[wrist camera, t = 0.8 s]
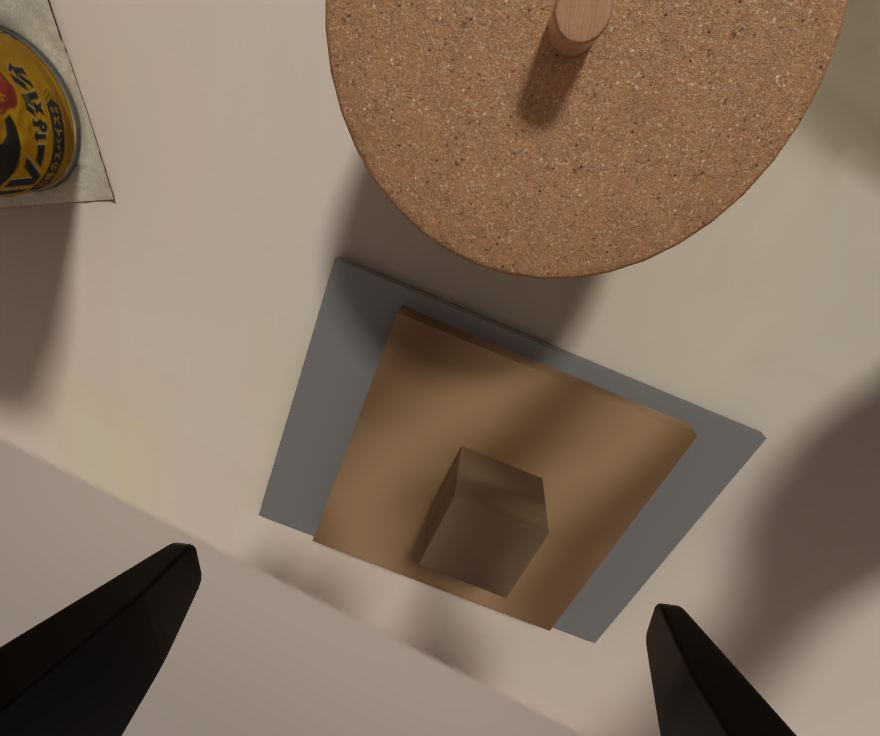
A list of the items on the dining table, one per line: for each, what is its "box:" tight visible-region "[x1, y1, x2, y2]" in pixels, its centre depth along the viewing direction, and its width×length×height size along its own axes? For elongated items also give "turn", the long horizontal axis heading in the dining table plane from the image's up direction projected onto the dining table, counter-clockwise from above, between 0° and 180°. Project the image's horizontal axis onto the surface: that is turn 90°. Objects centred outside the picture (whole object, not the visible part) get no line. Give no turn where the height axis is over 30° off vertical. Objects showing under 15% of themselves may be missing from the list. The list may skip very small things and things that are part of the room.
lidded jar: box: [326, 0, 848, 279], centre depth 13 cm, size 11×11×9 cm
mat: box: [259, 256, 766, 643], centre depth 24 cm, size 20×15×1 cm
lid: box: [313, 305, 697, 631], centre depth 22 cm, size 14×14×4 cm
